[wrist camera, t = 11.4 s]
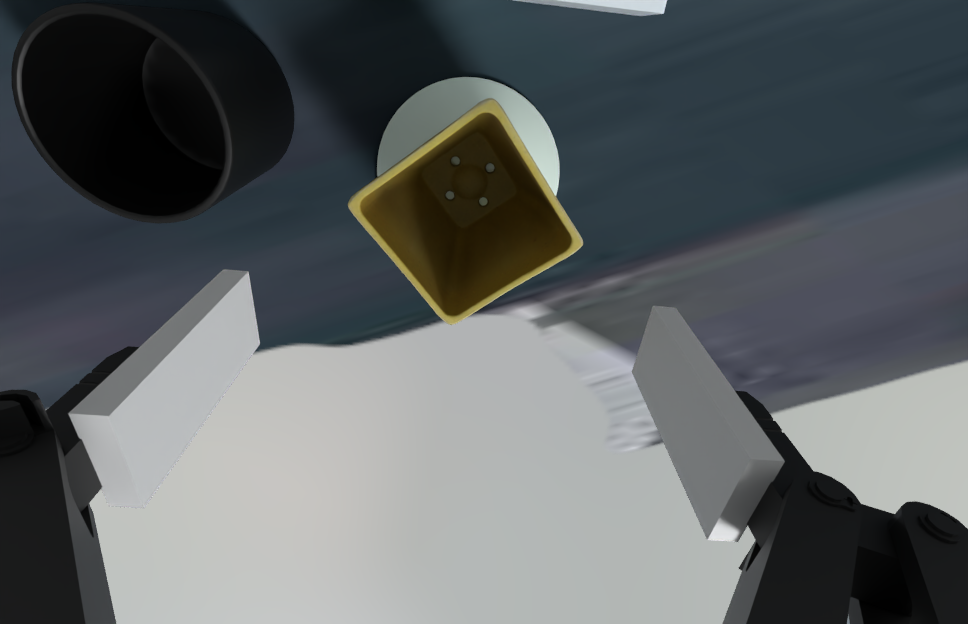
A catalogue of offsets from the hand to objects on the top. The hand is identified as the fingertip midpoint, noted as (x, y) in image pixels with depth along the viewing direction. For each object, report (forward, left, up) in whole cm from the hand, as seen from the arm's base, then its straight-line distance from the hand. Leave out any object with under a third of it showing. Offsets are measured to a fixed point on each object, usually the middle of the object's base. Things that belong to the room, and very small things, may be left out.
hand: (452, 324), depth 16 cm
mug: (-17, +3, -19) cm, 25 cm away
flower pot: (0, 0, -18) cm, 19 cm away
